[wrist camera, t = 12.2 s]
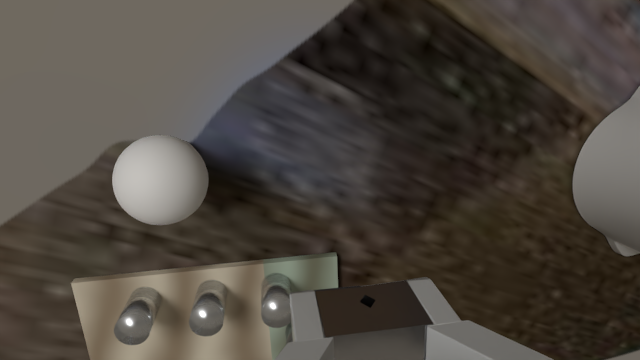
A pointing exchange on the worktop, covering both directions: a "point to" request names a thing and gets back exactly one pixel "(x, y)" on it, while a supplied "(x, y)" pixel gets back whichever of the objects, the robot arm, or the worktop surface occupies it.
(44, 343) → the worktop surface
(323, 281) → the board
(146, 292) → the spacers
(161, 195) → the lightbulb
